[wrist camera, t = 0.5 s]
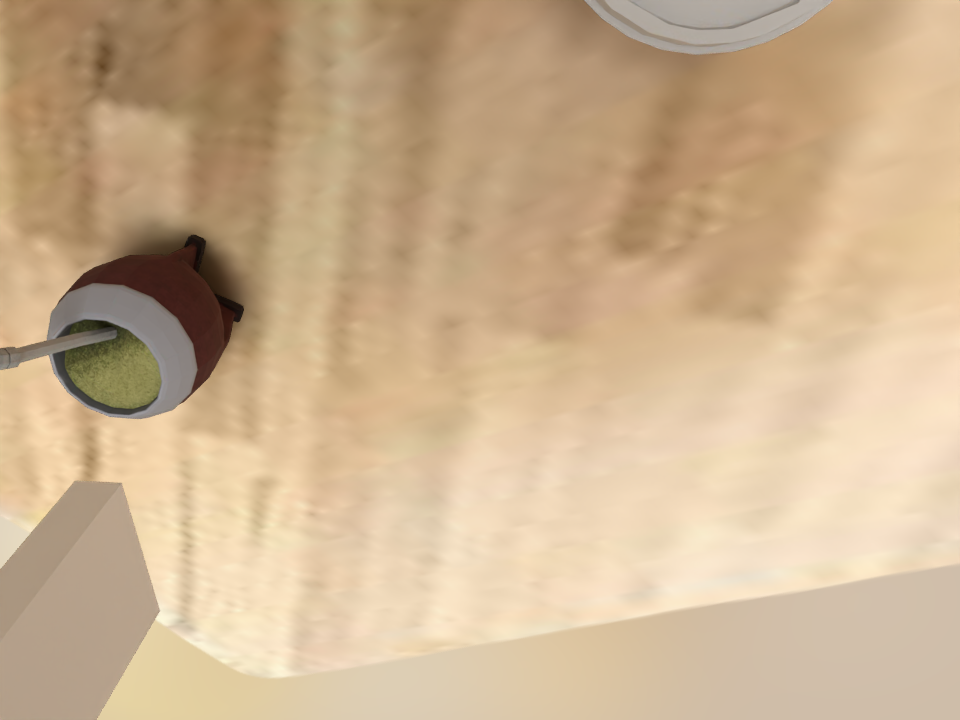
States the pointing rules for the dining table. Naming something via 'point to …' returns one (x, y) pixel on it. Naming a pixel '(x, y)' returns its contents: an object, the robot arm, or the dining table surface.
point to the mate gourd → (136, 334)
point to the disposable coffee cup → (705, 21)
